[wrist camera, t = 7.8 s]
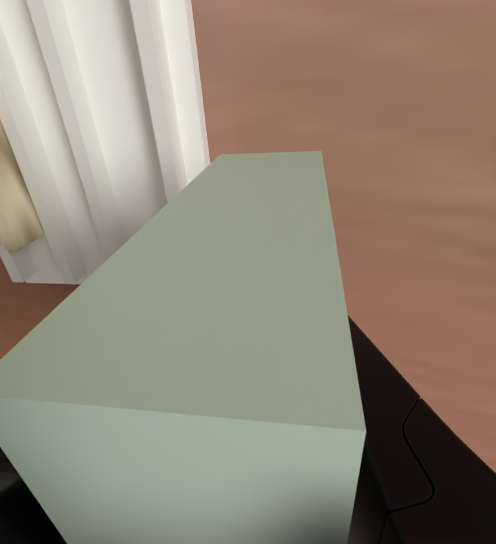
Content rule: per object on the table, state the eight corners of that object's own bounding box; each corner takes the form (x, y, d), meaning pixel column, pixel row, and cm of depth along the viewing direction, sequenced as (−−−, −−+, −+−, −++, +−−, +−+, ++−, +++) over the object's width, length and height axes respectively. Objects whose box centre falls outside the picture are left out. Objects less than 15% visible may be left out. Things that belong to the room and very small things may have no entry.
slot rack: (223, 280, 24) (215, 301, 22) (34, 276, 26) (10, 293, 24) (175, -134, 14) (151, -170, 12) (-120, -80, 17) (-183, -102, 14)
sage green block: (314, 328, 13) (321, 693, 5) (237, 324, 14) (143, 654, 6) (321, 150, 10) (364, 431, 2) (219, 154, 10) (-37, 394, 3)
